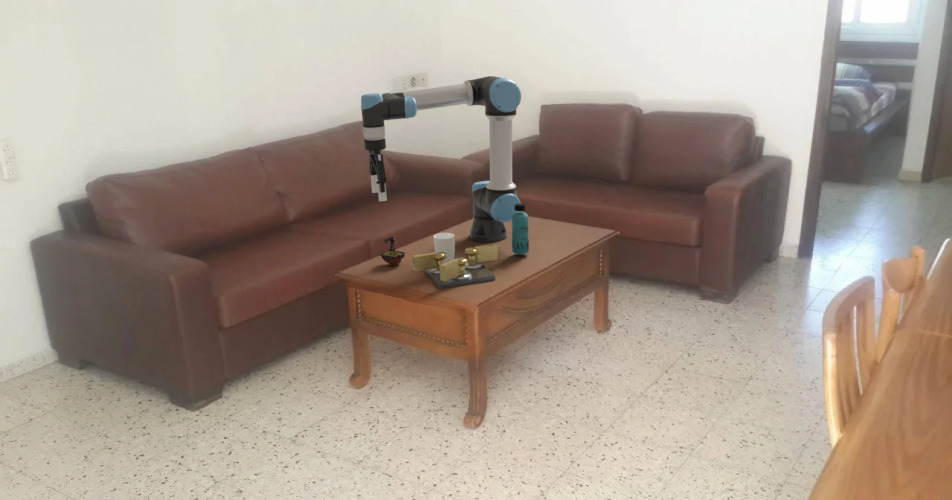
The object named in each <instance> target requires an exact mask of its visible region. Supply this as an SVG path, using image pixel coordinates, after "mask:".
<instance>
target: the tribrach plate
mask: <svg viewBox="0 0 952 500" xmlns="http://www.w3.org/2000/svg"><path fill="white" fill-rule="evenodd" d="M425 273H426V274H427V275H428V276H429V277H430V279H431V280H432V281H433V282H434V284H435V285H437V287H438V288H439V289H446V288H451V287H458V286H464V285H471V284H477V283H484V282H490V281H495V280H496V275H495V274H494V273H493V272H492V271H491V270H490V269H489V268H487V267H486V266H485V264H483V262H476V264H475V265H469V261H468V264H467V265H465V275H463V276H459V275H458V276H456V277H454V278H451V279H449V280H446V281H442V280H440V270H437V269H430V270H425Z"/></svg>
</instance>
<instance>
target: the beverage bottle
mask: <svg viewBox="0 0 952 500" xmlns="http://www.w3.org/2000/svg"><path fill="white" fill-rule="evenodd" d="M514 209H515V211H520V212H516V213H514V214H513V215H512V220H511V223H512V224H511V248H512V249H511V251H512V253H513V254H515V255H525V254H528V253H529V251H530V240H529V237H530V236H529V235H530V233H529V228H530V227H529V215H528V213H527V212H525V211H526V204H525V203H519V204H515V208H514Z"/></svg>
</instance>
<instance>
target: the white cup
mask: <svg viewBox="0 0 952 500" xmlns="http://www.w3.org/2000/svg"><path fill="white" fill-rule="evenodd" d="M455 236H456V235H455V234H454V233H453V232H439V233H436V234H434V235H433V243H434V246H433V247H434V252H435V253H436V252H444V253H446V259H444V263H446V262H448V261H451V260H453V259H455V252H456V251H455V250H456V249H455V248H456V245H455V244H456V240H455V238H456V237H455Z"/></svg>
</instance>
